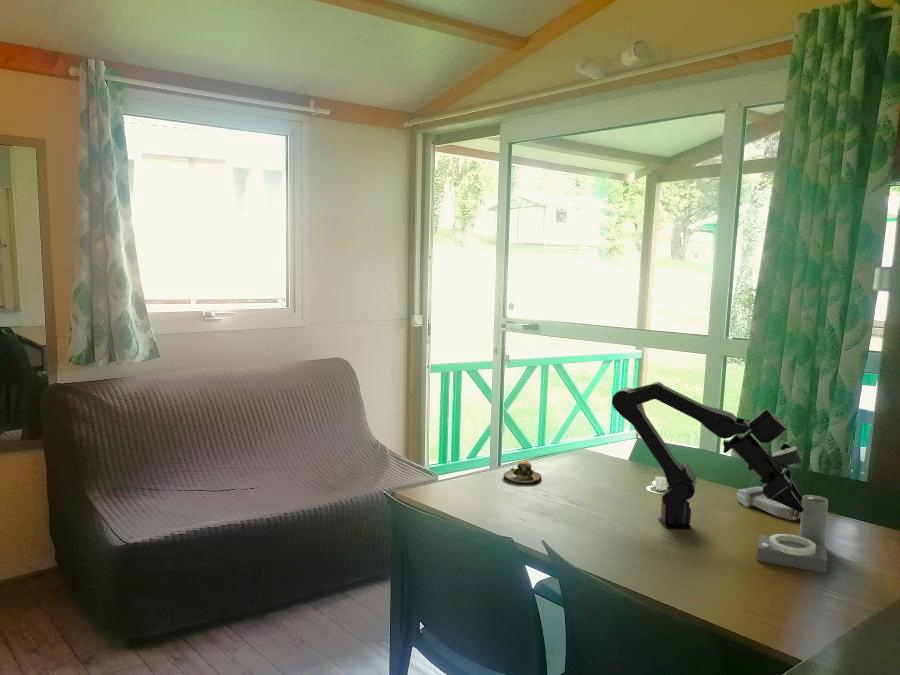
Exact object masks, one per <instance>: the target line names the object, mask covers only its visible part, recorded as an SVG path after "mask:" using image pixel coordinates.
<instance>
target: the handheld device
mask: <svg viewBox="0 0 900 675" xmlns="http://www.w3.org/2000/svg"><path fill="white" fill-rule="evenodd" d="M736 497H737V500H738V501H739V502H740V503H741V505H743V506H744V507H746V508H754V507H753V506H755V507H756V508H758V509H760V510H762V511H765V512H766V513H768V514H771V515H772V516H775V517H778V518H780V517H781V519H783V518H785V519H784V520H786V519H789V520H788V521H790V520H795V521H798V520H797V519H800V521H801V512H798V511H796V510H794V509H792V508H790V507H788V506H785V505H783V504H781V503H779V502H776V501H774V500H771V499H768V498H767V497H766V496H765V495H764V494H763V486H753V487H747V488H746V487H745V488H740V489H738V490H737V492H736Z"/></svg>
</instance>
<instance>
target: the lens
mask: <svg viewBox="0 0 900 675" xmlns="http://www.w3.org/2000/svg"><path fill="white" fill-rule="evenodd" d="M801 496H802V500H801V505H802V507H803V508H804V511H802V512H801V520H800V525H799V536H800V537H803V538H806V539H809V540H810V541H812V542H813V543H815V544H817V545H823V546H826V539H827V538H826V537H827V524H828V513H829V512H828V511H829V510H828V509H829V499H828V498H825V497H824V496H820V495H815V494H805V495H801Z"/></svg>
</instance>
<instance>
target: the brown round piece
mask: <svg viewBox="0 0 900 675" xmlns="http://www.w3.org/2000/svg"><path fill="white" fill-rule="evenodd" d="M526 457H527V455H526ZM516 467H517V468H515V467H512V468H510V470H508V471H506V472H504V474H503V478H506V479H507V480H510V481H512V482H516V483H522V484H523V483H525V484H526V483H527V484H529V483H535V482H537V483H536V485H539V484H540V483H542V480H543V478H542V475H541V473H538V472H536V471H534V470H533V469H532V464H531V462H529V461H528V460H527V459H525V460H523V461H520V462H518V463H517V465H516Z"/></svg>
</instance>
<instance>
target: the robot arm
mask: <svg viewBox="0 0 900 675" xmlns="http://www.w3.org/2000/svg"><path fill="white" fill-rule="evenodd" d="M653 400H657V401H659V402H661V404H662V403H663V404H665V405H667V406H669V407H670V408H673V409H675V410H677V411H678V412H680V413H682V414H684V415H687V416H688V417H690V418H692V419H694V420H696V421H698V422H699V423H700V424H701V425H703V426H704V428H706V429H707V430H708V431H710V432H711V433H712V434H714V435H715V436H717V437H718V438H720V439H724V440H723V443H722V444H723V453H724V454H726V453H728V452H730V450H732V451H733V452H735V454H736V455H737V456H738V457H739V458H740V459H741V460H742V461H743V462H744V463H745V464H746V465H747V469H748V470H749V471H750V472H751V471H752V472H753V473H754V474H755V475H756V476H757V477H758V478H759V482H760V483H761V484H762V487H763V494H764V495H765V496H766V497H767V498H768V499H771V500H774V501H776V502H779V503H781V504H783V505H785V506H788V507H790V508H792V509H794V510H796V511H798V512H802V511H804V508H803V507H802V503H800V501H802V496H803V495H801V493H800V491H799V489H798V488H797V487H796V485H795V483H794V481H793V480H792V478H791V467H790V466H791V465H797V464H800V463H802V462H803V460H802V456H801V454H800V452H799V450H798V448H797V446H796V445H790V444H789V442H784V443H781V445H780V450H778V449H777V451H775V452H772V451H771V450H770V449H765V448H764V447H763V446H762V445H761V444H765V443H766V444H771V443H772V442H774V441H775V440H776V439H777V438H779V437H780V436H781V435H783V434H784V433H785V432H787V431H788V430H789V429H788V426H787V425H786V424H785V422H783V420H782V419H780V418H779V417H778V416H776V415H775V414H774V413H773V412H771V411H770V410H769V409H768V408H765V409H763V410H762V411H761V412H760V413H759V414H758V415H757V416H756V417H754V418H753V419H752V420H750V419H745V418H741V417H737V416H736V415H735V414H734V413H732V412H729V411H727V410H723V409H720V408H718V407H717V408H716V407H712V406H711V407H710V406H708V405H704V404H702V403H700V402H698V401H696V400H695V399H692V398H690V397H689V396H686V395H684V394H682V393H680V392H679V391H676V390H674V389H672V388H671V387H668V386H666V385H665V384H663V383H662V382H660V381H656V382H652V383H651V384H648V385H643V386H638V387H636V388H631V387H623V388H621V389H619V390H618V391H617V392H616V393H615V394H613V395H612V399H611V404H612V406H613V409H615V411H617V413H619V415H620V416H621V417H622V418H624V419H625V420H626V421H628V423H629V424H631V425H632V426H633V428H634V429H635V430H636V432H637V433H638V435H639V436H640V438H641V440H642V441H643V443H644V444H645V445H646V447H647V448H648V450H649V451H650V453H651V454H652V455H653V457H654V459H655V460H656V461H657V463H658V465H659V466H660V467H661V469H662V471H663V474H664V476H665V478H666V484H667V485H668V486H666V487H667V488H665V489H664V492H663V493H664V494H662V495H661V506H660V507H661V508H660V510H661V511H660V517H658V521H659V522H660V523H661V524H662V525H663V526H664V527H665V528H666V529H691V528H692V525H691V521H692V520H691V518H692V517H691V516H692V508H691V507H690V501H688V500H691V499H692V498H693V497H694V495H695V492H696V490H697V487H698V479H697V476H698V475H697V474H696V473H695V472H694V471H693V470H692V468H691V466H690V464H689V463H688V462H686V463H685V464H684V465H683V463H681V462H679V461H678V460H677V458H676V456H674V454H673V452H672V451H671V450H670V448H669V447H668V445H667V443H665V441H664V440H663V437H662V436H661V435H660V434H659V432H658V430H657V429H656V428H655V426H654V424H653V423H652V422H651V420H650V419H649V417H648V416H647V414H646V412H645V411H646V410H645V409H644V405H643V404H644V403H647V402H650V401H653ZM729 438H730V439H729ZM727 439H729V440H727ZM756 439H757V440H756Z"/></svg>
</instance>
